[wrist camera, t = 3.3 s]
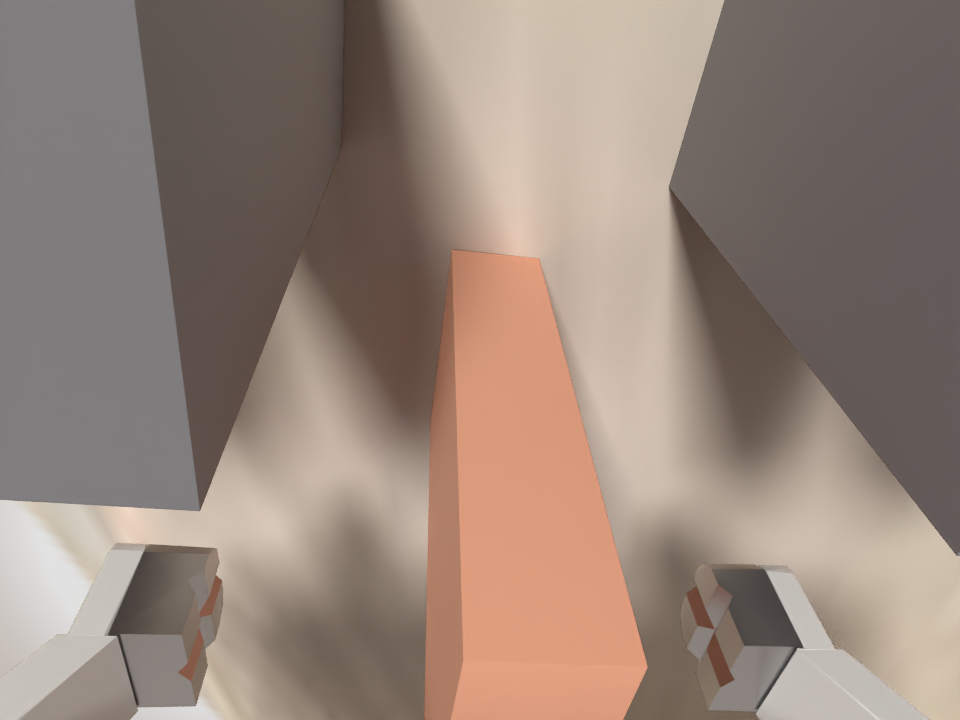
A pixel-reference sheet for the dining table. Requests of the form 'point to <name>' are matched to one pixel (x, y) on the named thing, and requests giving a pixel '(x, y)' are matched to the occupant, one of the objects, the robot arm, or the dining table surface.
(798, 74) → the domino
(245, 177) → the domino
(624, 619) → the domino
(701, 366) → the dining table surface
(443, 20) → the dining table surface
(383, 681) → the dining table surface
